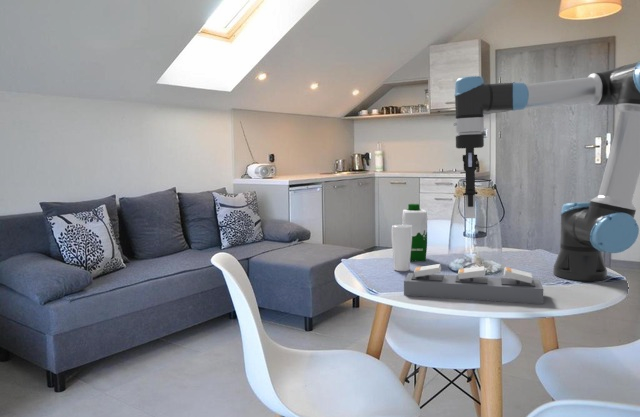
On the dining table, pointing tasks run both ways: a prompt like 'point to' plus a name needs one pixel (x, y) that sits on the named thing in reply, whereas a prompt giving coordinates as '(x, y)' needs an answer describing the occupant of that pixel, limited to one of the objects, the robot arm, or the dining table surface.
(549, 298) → the dining table surface
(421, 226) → the milk carton
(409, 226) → the drinking glass
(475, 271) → the rocker middle
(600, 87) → the robot arm
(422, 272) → the rocker left
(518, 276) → the rocker right
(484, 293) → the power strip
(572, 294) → the dining table surface
